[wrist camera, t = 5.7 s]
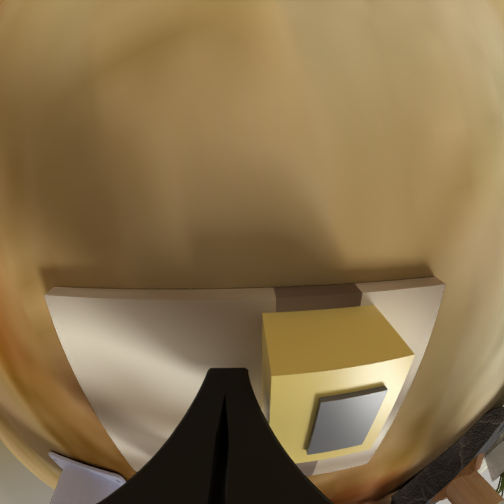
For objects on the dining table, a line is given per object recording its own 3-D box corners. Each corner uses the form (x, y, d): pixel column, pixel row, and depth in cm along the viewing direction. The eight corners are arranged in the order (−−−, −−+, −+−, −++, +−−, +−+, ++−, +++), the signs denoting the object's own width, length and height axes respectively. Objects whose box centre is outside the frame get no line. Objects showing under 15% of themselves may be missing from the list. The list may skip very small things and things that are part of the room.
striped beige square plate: (364, 455, 14) (367, 463, 13) (137, 462, 14) (134, 470, 13) (435, 276, 10) (445, 284, 9) (54, 286, 9) (43, 294, 8)
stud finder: (349, 398, 11) (371, 452, 8) (261, 409, 10) (267, 470, 7) (374, 304, 9) (418, 358, 6) (262, 312, 9) (272, 381, 6)
